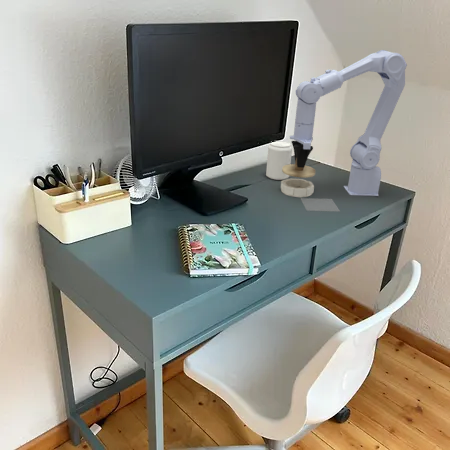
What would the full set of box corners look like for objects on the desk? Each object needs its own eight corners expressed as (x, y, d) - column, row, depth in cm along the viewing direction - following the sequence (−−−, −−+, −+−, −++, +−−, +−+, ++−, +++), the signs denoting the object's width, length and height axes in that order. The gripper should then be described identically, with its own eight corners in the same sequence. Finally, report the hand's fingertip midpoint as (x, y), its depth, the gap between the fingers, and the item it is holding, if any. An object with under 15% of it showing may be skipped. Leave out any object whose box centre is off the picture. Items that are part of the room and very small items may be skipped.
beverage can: (290, 181, 170) (293, 147, 165) (266, 180, 170) (269, 146, 165) (287, 173, 178) (291, 141, 173) (265, 172, 178) (268, 139, 173)
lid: (312, 168, 162) (314, 155, 161) (317, 178, 153) (319, 164, 151) (280, 166, 162) (282, 152, 160) (283, 176, 153) (285, 162, 151)
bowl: (308, 187, 165) (309, 179, 164) (315, 198, 156) (316, 189, 155) (278, 186, 165) (279, 178, 163) (283, 197, 156) (284, 188, 154)
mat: (331, 200, 156) (331, 198, 156) (340, 212, 147) (340, 211, 146) (300, 199, 155) (300, 198, 155) (306, 211, 146) (306, 210, 146)
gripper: (287, 116, 157) (283, 158, 163) (295, 127, 144) (291, 172, 150) (309, 117, 158) (304, 158, 164) (319, 128, 145) (314, 173, 150)
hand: (299, 165), depth 157 cm, fingers closed on lid, 3 cm apart
